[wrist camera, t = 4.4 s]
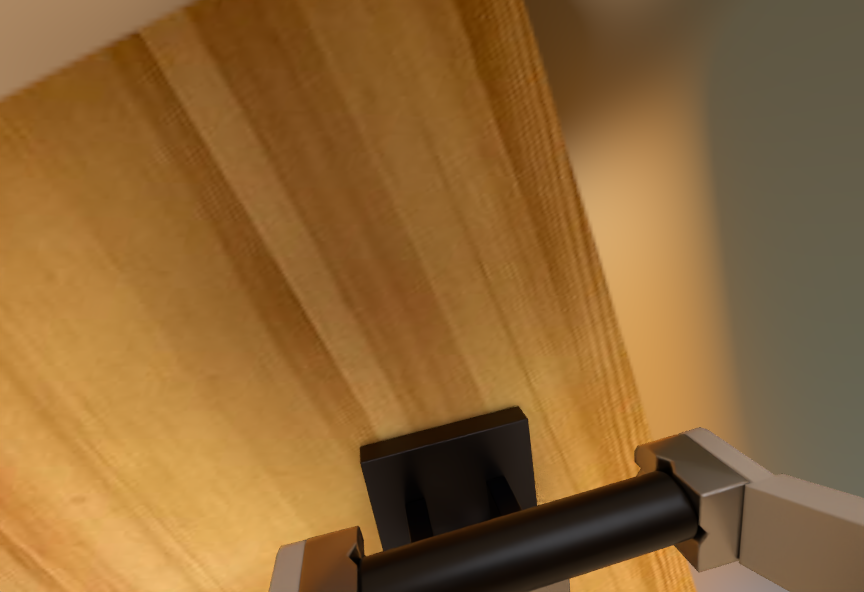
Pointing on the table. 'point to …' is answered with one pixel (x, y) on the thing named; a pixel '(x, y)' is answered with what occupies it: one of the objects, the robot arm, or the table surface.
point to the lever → (541, 542)
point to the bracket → (449, 476)
